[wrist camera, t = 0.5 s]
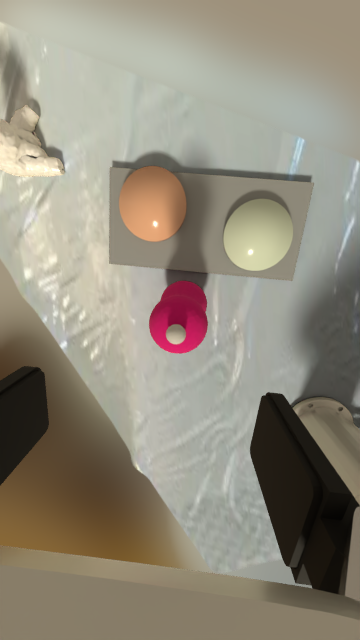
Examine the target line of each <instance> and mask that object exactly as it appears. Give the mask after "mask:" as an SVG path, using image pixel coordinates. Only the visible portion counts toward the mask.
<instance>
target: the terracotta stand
mask: <svg viewBox="0 0 360 640" xmlns="http://www.w3.org/2000/svg"><path fill="white" fill-rule="evenodd" d="M119 209H120V214H121V217H122V219H123V222H124V223H125V225H126V227H127V228H128V229H129V230H130V231H131V232H132V233H133V234H134V235H136V236H137V237H139V238H141V239H143V240H146V241H149V242H161V241H164V240H167V239H169V238H171V237H172V236H173V235H175V234H176V233H177V232H178V230H179V229H180V228H181V226H182V224H183V222H184V220H185V216H186V210H187V204H186V196H185V192H184V189H183V187H182V185H181V183H180V182H179V180H178V179H177V178H176V176H175V175H173V174H172V173H171V172H170V171H168V170H166V169H164V168H161V167H157V166H147V167H143V168H140V169H138V170H136V171H135V172H133V173H132V174H131V175H130V176H129V177H128V178H127V179H126V181H125V183H124V184H123V186H122V189H121V192H120V197H119Z"/></svg>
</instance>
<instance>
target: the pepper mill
mask: <svg viewBox="0 0 360 640" xmlns="http://www.w3.org/2000/svg"><path fill="white" fill-rule="evenodd" d="M206 307H207V300H206V296H205V294H204V292H203V290H202V289H201V288H200V287H199V286H198V285H196V284H194V283H193V282H189V281H178V282H175V283H173V284H171V285H170V286H168V287H167V288H166V289H165V291H164V292H163V294H162V297H161V301H160V302H159V303H158V304H157V305H156V306H155V308H154V309H153V311H152V313H151V316H150V320H149V328H150V333H151V336H152V337H153V339H154V341H155V342H156V343H157V345H159V346H160V347H161V348H162V349H164V350H166V351H168V352H171V353H186V352H189V351H191V350H193V349H195V348H196V347H197V346H198V345H199V344H200V343H201V342H202V341H203V339H204V337H205V335H206V332H207V326H208V321H207V316H206V313H205V312H206Z"/></svg>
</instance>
